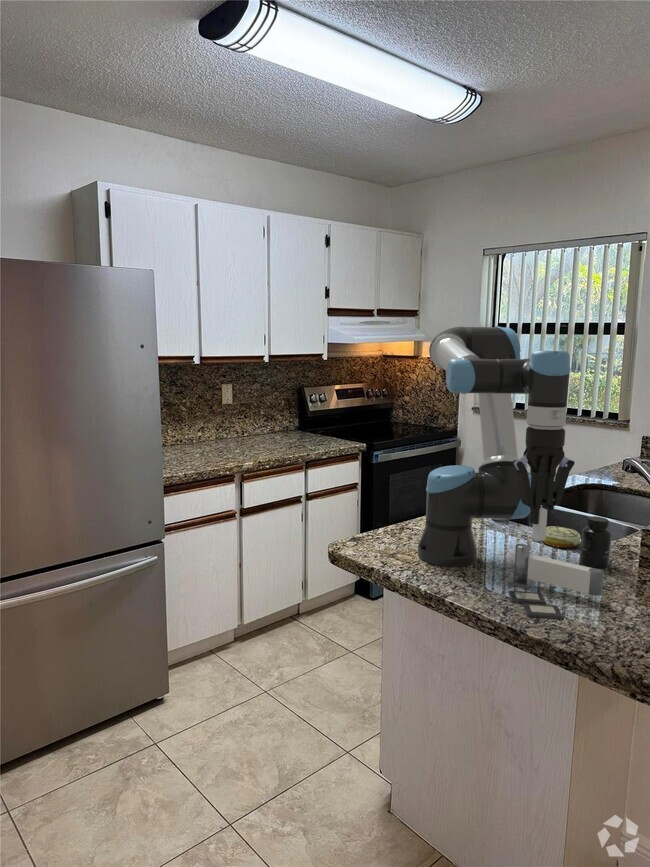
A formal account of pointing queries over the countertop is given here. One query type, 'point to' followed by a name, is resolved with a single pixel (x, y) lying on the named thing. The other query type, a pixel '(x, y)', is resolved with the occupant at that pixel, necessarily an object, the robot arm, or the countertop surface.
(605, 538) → the supplement bottle
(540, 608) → the label plate
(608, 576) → the countertop surface
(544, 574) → the swing bar
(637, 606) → the countertop surface
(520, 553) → the pivot post
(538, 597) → the label plate
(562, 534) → the decorated donut
